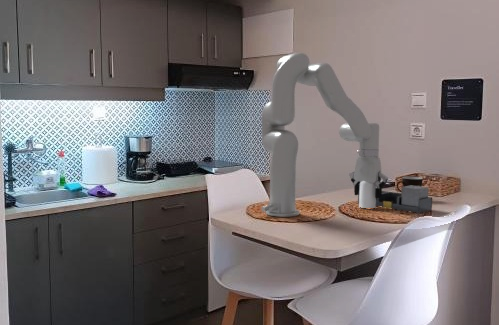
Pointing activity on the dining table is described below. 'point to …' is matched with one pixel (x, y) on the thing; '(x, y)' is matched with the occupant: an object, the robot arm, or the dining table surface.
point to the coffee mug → (410, 182)
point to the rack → (406, 199)
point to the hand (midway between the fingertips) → (367, 196)
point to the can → (367, 195)
